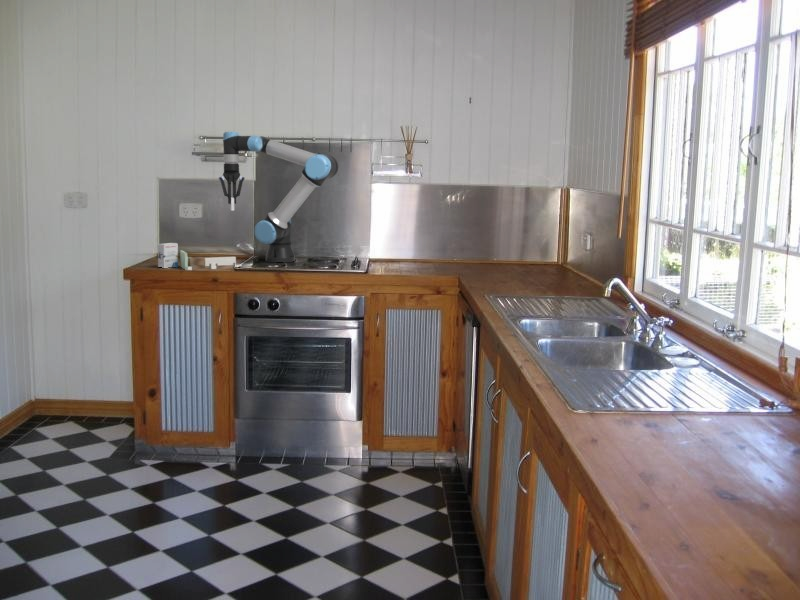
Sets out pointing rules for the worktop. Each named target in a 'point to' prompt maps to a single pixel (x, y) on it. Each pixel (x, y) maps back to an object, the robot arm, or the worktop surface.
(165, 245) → the ink box
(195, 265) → the block
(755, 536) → the worktop surface
